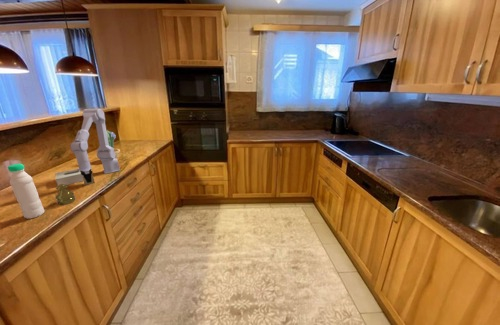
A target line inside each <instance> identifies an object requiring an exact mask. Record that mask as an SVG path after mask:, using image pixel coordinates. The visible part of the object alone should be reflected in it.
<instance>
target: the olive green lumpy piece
mask: <svg viewBox="0 0 500 325" xmlns="http://www.w3.org/2000/svg"><path fill="white" fill-rule="evenodd" d="M68 187H69V184H68V185H67V184H60V185H57V186H56V187H55V189H56V190H58V191H59V192H58V193H56V195H55V199H56V203H57V205H58V206H59V205H60V206H64V205H69V204H71V203H73V202H75V201H76V196H75V192H74V191H72V190H68V189H67V188H68Z"/></svg>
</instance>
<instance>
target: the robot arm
mask: <svg viewBox="0 0 500 325" xmlns="http://www.w3.org/2000/svg"><path fill="white" fill-rule="evenodd" d="M82 117H83V121H82V125H81V127H80V128H81V129H80V130H79V129H78V131H77V133H76V136H75V137H74V141H73V142H71V143H70V147H69V148H70V150H71V151H72V153H73V154H74V155H75V158H76V162H77V165H78V168H79V169H78V168H76V169H77V171H79V170H80V172H81V174H82V175H83V176H84V178H85V179H86V181H87V183H89V182H92V178H91V176H92V175H93V170H92V165H91V163H90V162H91V161H90V158H89V155H88V152H87V150H88V149H89V145H88V139H89V137H90V133H89V130H90V128H91V126H92V123H94V124H95V127H96V133H97V137H98V138H97V139H98V144H99V147H98V148H97V149H96V157H97V159H99V160H100V161H101V163H102V167H103V168H102V169H103V170H102V172H103V173H104V175H107V174H110V173H115V172H119V171H121V169H120V164H119V161H118V160H119V159H118V160H117V158H115V155H116V154H115V152H114V149H115V148H112V147H111V146H109V143H108V137H107V126H106V114H105V111H103V110H102V109H101V108H85V109H83V111H82Z"/></svg>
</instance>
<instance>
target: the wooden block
mask: <svg viewBox="0 0 500 325" xmlns="http://www.w3.org/2000/svg"><path fill="white" fill-rule="evenodd" d="M91 178H92V182H89V183H87V181H86V179H85V178H84V177H83V180H84V181H83V183H84V184H83V185H84V186H89V185H93V184H95V182H96V181H95V179H94V176H93V174H92V176H91Z"/></svg>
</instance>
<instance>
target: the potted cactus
mask: <svg viewBox="0 0 500 325" xmlns="http://www.w3.org/2000/svg"><path fill="white" fill-rule="evenodd" d="M106 131H107V137H108V143H109V146H111V147H112V148H114V142H115V139H116V138H117V136H116V134H115V132H113V131H109V130H108V129H106ZM114 152H115V154H116V155H115V158H117V160H119V156H120V153H121V149H119V148H114Z"/></svg>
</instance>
